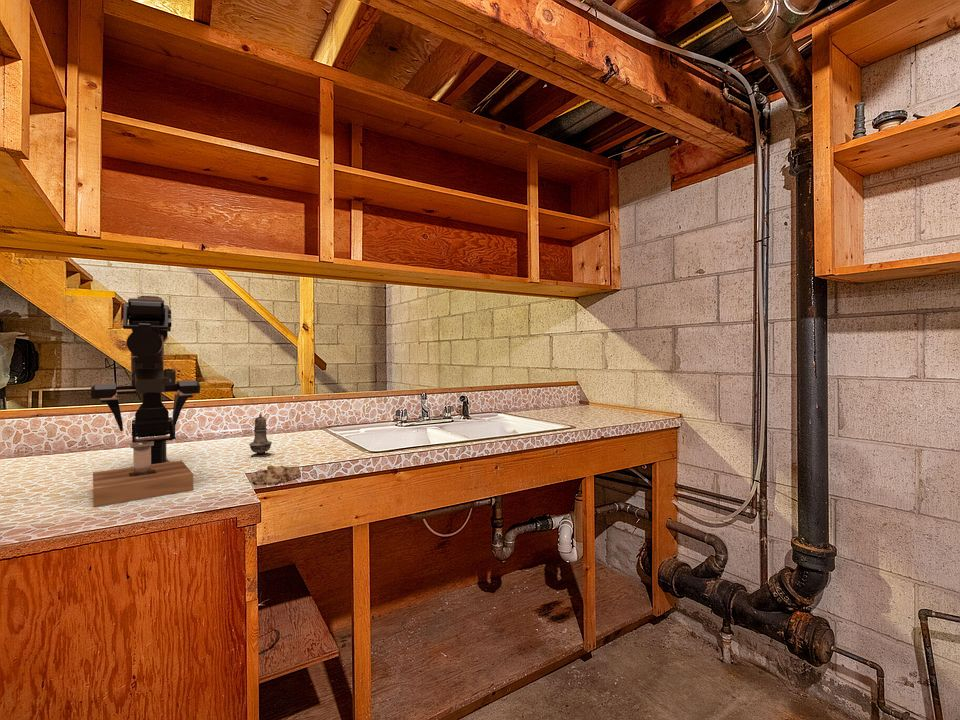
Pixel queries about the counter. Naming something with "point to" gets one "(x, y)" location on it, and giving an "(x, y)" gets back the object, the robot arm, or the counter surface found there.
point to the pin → (142, 457)
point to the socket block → (140, 483)
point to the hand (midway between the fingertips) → (148, 428)
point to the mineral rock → (275, 475)
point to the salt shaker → (260, 439)
